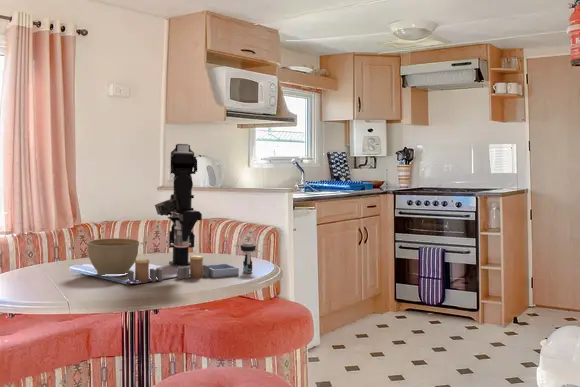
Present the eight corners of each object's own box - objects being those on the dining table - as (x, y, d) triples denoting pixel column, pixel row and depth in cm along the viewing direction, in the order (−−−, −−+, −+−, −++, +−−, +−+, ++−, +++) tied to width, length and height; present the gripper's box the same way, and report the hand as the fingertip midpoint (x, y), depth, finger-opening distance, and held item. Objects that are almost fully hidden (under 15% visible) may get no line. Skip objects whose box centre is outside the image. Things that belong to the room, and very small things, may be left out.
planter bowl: (75, 276, 182) (75, 242, 181) (109, 268, 197) (110, 237, 196) (116, 281, 176) (117, 246, 175) (148, 273, 191) (149, 240, 190)
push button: (257, 274, 194) (258, 244, 194) (241, 274, 193) (242, 244, 192) (253, 270, 201) (254, 241, 200) (238, 270, 199) (239, 242, 199)
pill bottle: (175, 245, 186) (175, 219, 186) (189, 245, 186) (190, 219, 186) (173, 247, 181) (173, 221, 181) (188, 247, 182) (188, 221, 181)
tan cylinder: (187, 276, 187) (188, 256, 187) (199, 275, 190) (200, 255, 189) (192, 278, 184) (193, 258, 184) (204, 277, 186) (205, 257, 186)
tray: (201, 272, 194) (201, 265, 194) (226, 270, 199) (226, 263, 199) (213, 277, 186) (213, 270, 186) (238, 275, 191) (238, 267, 191)
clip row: (127, 281, 176) (127, 270, 176) (205, 275, 190) (205, 264, 190) (130, 283, 174) (130, 272, 174) (209, 276, 188) (209, 266, 187)
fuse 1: (133, 280, 178) (133, 259, 177) (146, 279, 180) (146, 258, 180) (137, 283, 174) (137, 261, 174) (150, 282, 177) (150, 260, 176)
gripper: (148, 189, 187) (148, 237, 188) (168, 193, 171) (167, 245, 172) (181, 189, 192) (180, 235, 193) (203, 193, 176) (201, 243, 177)
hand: (181, 240), depth 184 cm, fingers closed on pill bottle, 5 cm apart
